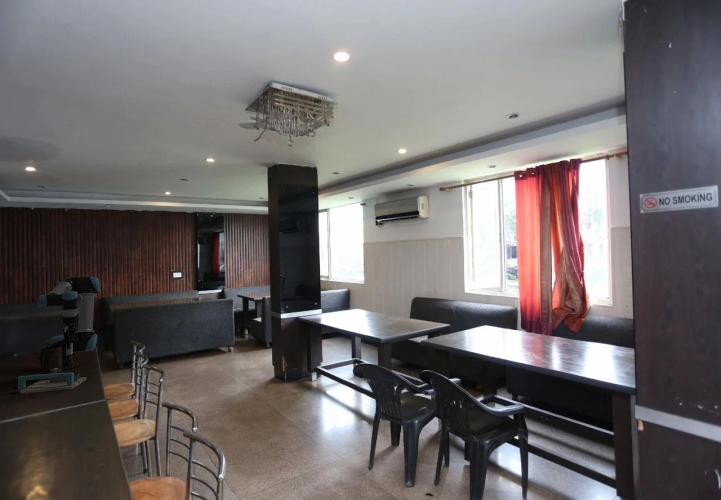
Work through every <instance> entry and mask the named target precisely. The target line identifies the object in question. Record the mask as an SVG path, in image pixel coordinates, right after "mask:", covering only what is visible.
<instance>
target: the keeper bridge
mask: <svg viewBox="0 0 721 500" xmlns="http://www.w3.org/2000/svg"><path fill="white" fill-rule="evenodd" d="M74 374H75V372H73V371H72V372H62V373H55V374H42V375H41V374H30V375H20V376H18V377H17V393H20V392H21V390H23V389H25V388H27V386H26V385H27V384H26V382H27V381H33V380H41V379H49V378H62V377H67V386H70V385H73V384H74Z"/></svg>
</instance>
